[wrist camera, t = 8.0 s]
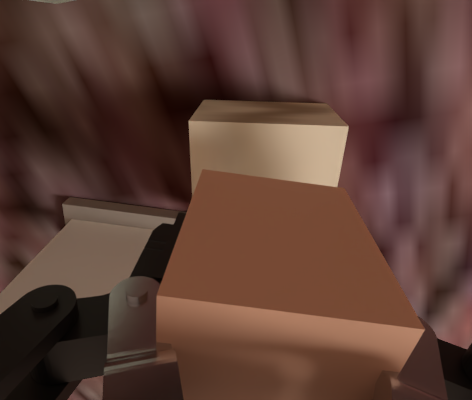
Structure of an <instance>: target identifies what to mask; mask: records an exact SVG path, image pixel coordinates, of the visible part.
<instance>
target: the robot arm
mask: <svg viewBox="0 0 472 400" xmlns="http://www.w3.org/2000/svg"><path fill="white" fill-rule="evenodd" d="M185 216H186V212H179V213H178V215H177V217H176V220H175V222H174V224H166V223H162V224H161V225H159V226H158V227H157V228H155V229H154V230H153V231H152V233H151V235H150V237H149V239H148V241H147V243H146V245H145V247H144V249H143V251H142V253H141V255H140V257H139V259H138V261H137V263H136V265H135V267H134V269H133V271H132V273H131V275H130V277H129V278H127V279H125V280H122V281H121V282H119V283H118V284H116V285H115V286H114V287H113V289H112V290H111V292H110V293H108V294H105V295H100V296H93V297H85V298H76V294H75V292H74V291H73V290H72V289H71V288H69V287H67V286H64V285H46V286H42V287H39V288H36V289H34V290H32V291H30V292H28V293H26V294H25V295H24V296H22V297H21V298H20V299H19V300H17V301H16V302H15V303H14V304H12V305H11V306H10V307H9V308H7V309H6V310H5V311H4V312H2V313H1V314H0V400H67V399H68V398H69V396H70V395H71V394H72V393H73V391H74V390H75V389H76V387H77V386H78V385H79V383H80V382H81V381H82V379H87V378H92V377H97V376H102V375H104V377H103V399H102V400H184V399H183V393H182V386H181V380H180V374H179V368H178V362H177V356H176V352H175V349H172V346H171V344H168V343H160V342H156V298H157V293H158V290H159V287H160V284H161V282H162V279H163V276H164V274H165V271H166V268H167V265H168V263H169V260H170V257H171V254H172V252H173V249H174V246H175V243H176V241H177V238H178V235H179V232H180V230H181V227H182V224H183V221H184V219H185ZM418 318H419V320H420V322H421V323H422V325H423V327H424V329H425V331H424V332H423V334H422V336H421V337H420V339H419V341H418V343H417V344H416V346H415V348H414V349H413V351H412V353H411V354H410V356H409V358H408V359H407V361H406V363H405V365H404V366H403V368H402V370H401V371H400V372H393V371H385V370H382V372H381V374H380V376H379V377H378V379H377V381H376V383H375V390H374V395H373V399H372V400H472V344H471V345H470V346H469V348H468V349H464V348H461V347H459V346H456V345H453V344H450V343H448V342H445V341H442V340H440V339H438V338H437V337H436V335H435V332H434V331H433V329H432V328H431V327H430V326H429V325H428V324H427V323H426V322H425V321H424V320H423V319H421V318H420V317H418Z"/></svg>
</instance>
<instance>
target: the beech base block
mask: <svg viewBox="0 0 472 400" xmlns="http://www.w3.org/2000/svg"><path fill="white" fill-rule="evenodd" d="M348 128H349V126H348V125H347V124H346V123H345V122H344V121H343V120H342V119H341V118H340V117H339V116H338V115H337V114H336V113H335V112H334V111H333V110H332V109H331V107H330V106H329V105H328V104H326V103H295V102H264V101H233V100H203V102H202V103H201V104H200V106H199V107H198V108H197V110H196V111H195V113H194V114H193V115H192V117H191V118H190V119H189V141H190V162H191V182H192V197H193V194H194V191H195V188H196V186H197V183H198V180H199V177H200V175H201V172H202V169H206V170H213V171H221V172H228V173H235V174H243V175H250V176H258V177H265V178H273V179H280V180H288V181H295V182H302V183H310V184H317V185H325V186H332V187H337V186H338V180H339V175H340V170H341V165H342V159H343V154H344V149H345V144H346V138H347V133H348Z"/></svg>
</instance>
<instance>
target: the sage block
mask: <svg viewBox="0 0 472 400" xmlns="http://www.w3.org/2000/svg"><path fill="white" fill-rule="evenodd" d="M31 1H39V2H47V3H54V4H58V3H63V2H69V1H74V0H31Z"/></svg>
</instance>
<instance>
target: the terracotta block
mask: <svg viewBox="0 0 472 400" xmlns="http://www.w3.org/2000/svg"><path fill="white" fill-rule="evenodd" d="M424 331H425V329H424V327H423V325H422V323H421V322H420V320H419V318H418V316H417V315H416V313H415V311H414V309H413V308H412V306H411V304H410V302H409V301H408V299H407V297H406V295H405V294H404V292H403V290H402V288H401V287H400V285H399V283H398V281H397V280H396V278H395V276H394V274H393V273H392V271H391V269H390V267H389V266H388V264H387V262H386V260H385V259H384V257H383V255H382V253H381V252H380V250H379V248H378V246H377V245H376V243H375V241H374V239H373V238H372V236H371V234H370V232H369V231H368V229H367V227H366V225H365V224H364V222H363V220H362V218H361V217H360V215H359V213H358V211H357V210H356V208H355V206H354V204H353V203H352V201H351V199H350V197H349V196H348V194H347V192H346V190H345V189H344V188H340V187H332V186H325V185H317V184H310V183H302V182H295V181H288V180H280V179H273V178H265V177H258V176H250V175H243V174H235V173H228V172H221V171H213V170H206V169H202V172H201V175H200V177H199V180H198V183H197V186H196V188H195V191H194V194H193V197H192V199H191V202H190V205H189V208H188V210H187V213H186V216H185V219H184V221H183V224H182V227H181V230H180V232H179V235H178V238H177V241H176V243H175V246H174V249H173V252H172V254H171V257H170V260H169V263H168V265H167V268H166V271H165V274H164V276H163V279H162V282H161V284H160V287H159V290H158V293H157V298H156V342H160V343H168V344H171V346H172V349H175V352H176V356H177V362H178V368H179V374H180V380H181V386H182V393H183V399H184V400H372V399H373V395H374V390H375V383H376V381H377V379H378V377H379V376H380V374H381V372H382V370H385V371H393V372H400V371H401V370H402V368H403V366H404V365H405V363H406V361H407V359H408V358H409V356H410V354H411V353H412V351H413V349H414V348H415V346H416V344H417V343H418V341H419V339H420V337H421V336H422V334H423V332H424Z"/></svg>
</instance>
